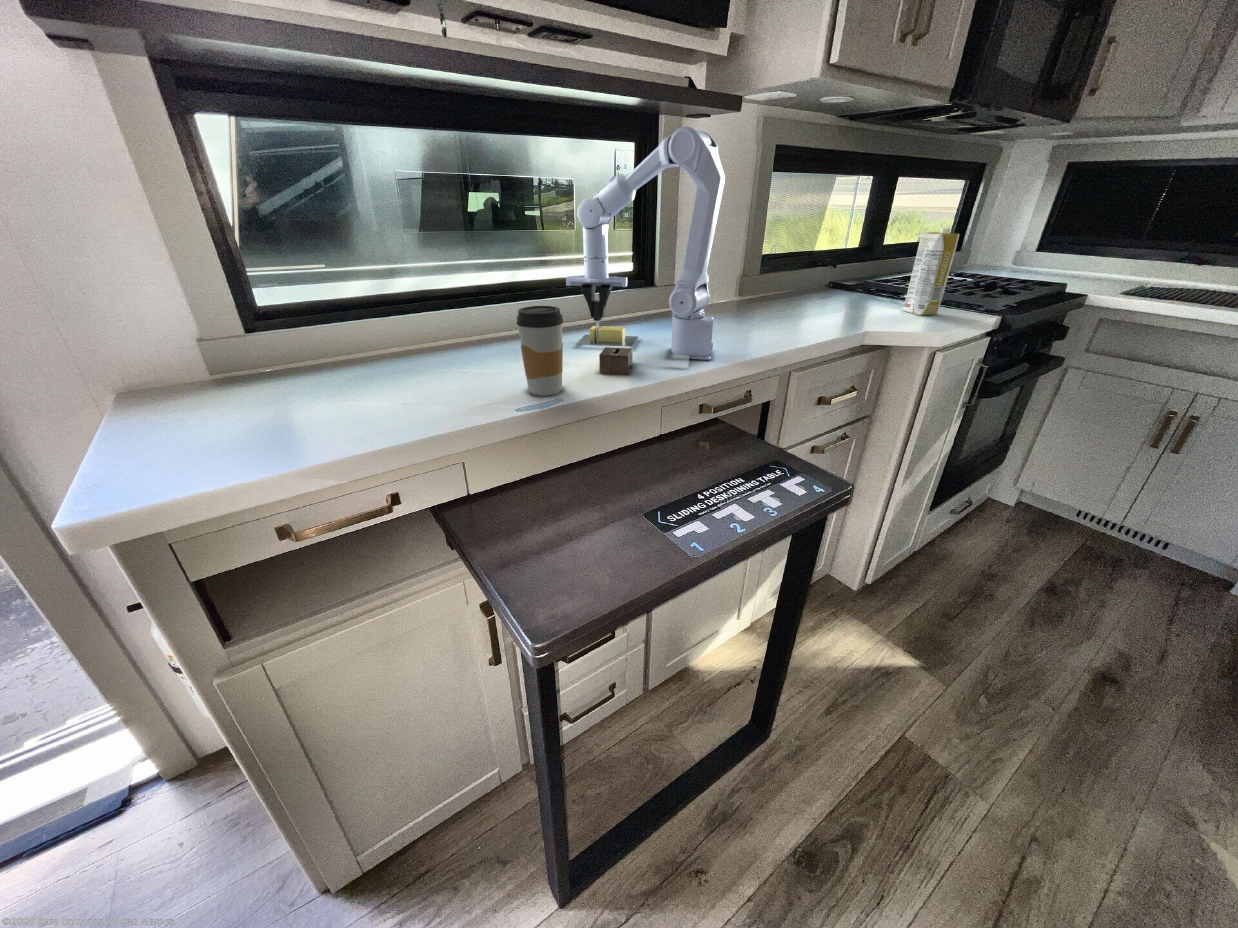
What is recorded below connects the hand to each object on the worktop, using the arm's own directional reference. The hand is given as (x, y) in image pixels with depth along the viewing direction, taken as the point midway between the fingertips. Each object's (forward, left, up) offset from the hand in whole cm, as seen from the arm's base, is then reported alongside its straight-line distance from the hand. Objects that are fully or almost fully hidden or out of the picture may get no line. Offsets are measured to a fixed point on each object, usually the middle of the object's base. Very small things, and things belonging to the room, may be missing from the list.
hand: (597, 317), depth 124 cm
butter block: (-4, 0, -6) cm, 7 cm away
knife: (0, 0, -5) cm, 5 cm away
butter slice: (+1, 0, -6) cm, 6 cm away
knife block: (-9, +21, -7) cm, 24 cm away
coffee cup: (+2, +36, -7) cm, 37 cm away
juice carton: (-92, -52, -7) cm, 106 cm away
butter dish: (-3, 0, -7) cm, 7 cm away
